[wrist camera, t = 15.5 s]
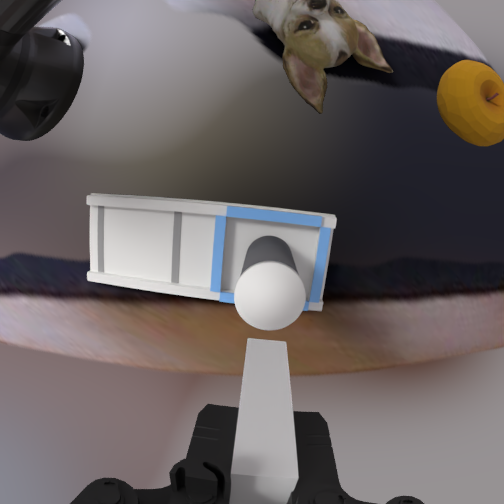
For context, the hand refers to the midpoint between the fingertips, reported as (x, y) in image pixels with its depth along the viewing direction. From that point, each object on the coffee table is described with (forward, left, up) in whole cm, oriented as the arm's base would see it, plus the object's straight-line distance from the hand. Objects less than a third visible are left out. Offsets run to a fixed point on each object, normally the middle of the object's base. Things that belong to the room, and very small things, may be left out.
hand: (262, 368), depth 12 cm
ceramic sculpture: (-23, +2, -21) cm, 31 cm away
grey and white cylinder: (0, 0, -20) cm, 20 cm away
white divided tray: (0, -7, -20) cm, 21 cm away
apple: (-19, +19, -21) cm, 34 cm away
